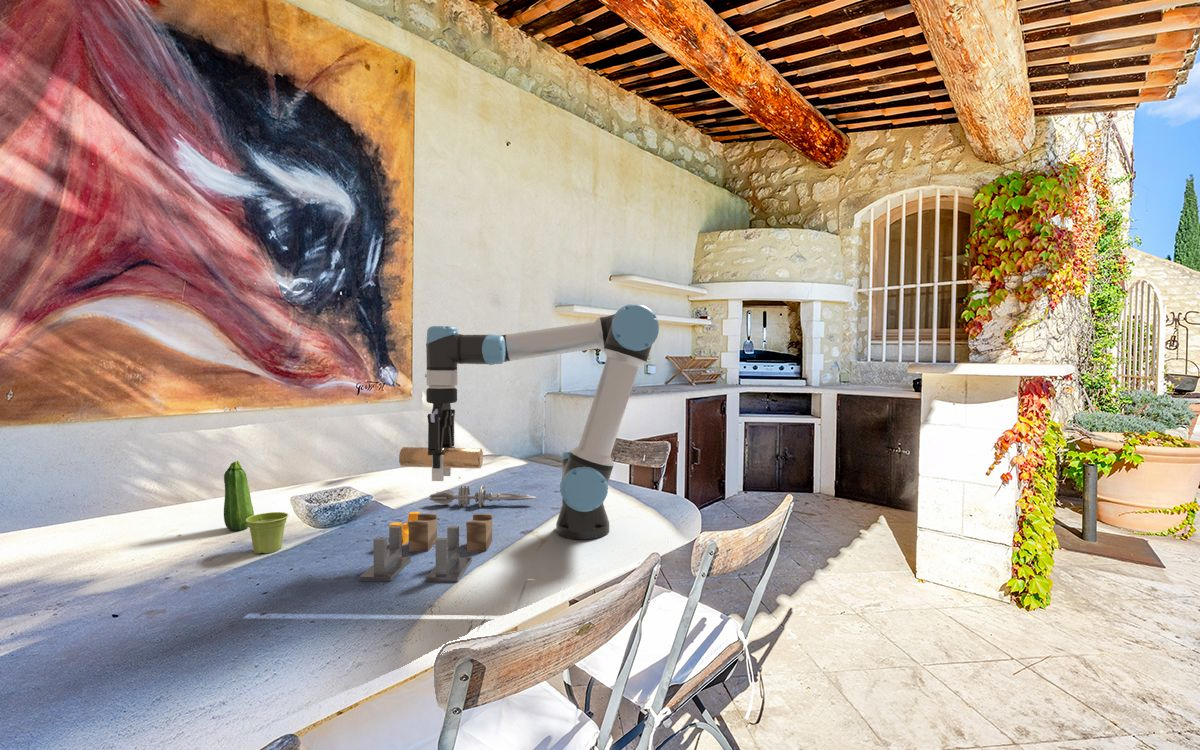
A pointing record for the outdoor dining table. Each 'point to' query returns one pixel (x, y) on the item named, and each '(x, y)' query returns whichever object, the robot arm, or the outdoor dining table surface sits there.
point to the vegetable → (236, 498)
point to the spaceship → (465, 496)
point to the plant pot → (267, 531)
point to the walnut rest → (426, 532)
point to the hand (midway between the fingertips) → (441, 478)
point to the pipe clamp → (406, 526)
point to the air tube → (451, 457)
